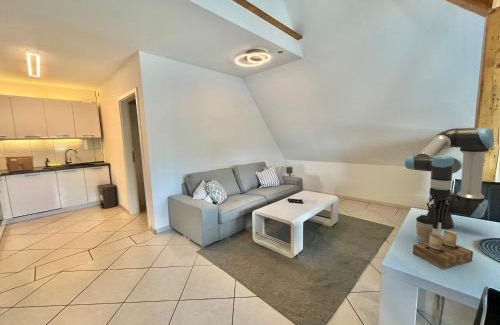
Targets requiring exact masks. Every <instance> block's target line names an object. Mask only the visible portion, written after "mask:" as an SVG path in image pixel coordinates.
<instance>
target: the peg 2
mask: <svg viewBox="0 0 500 325" xmlns="http://www.w3.org/2000/svg"><path fill="white" fill-rule="evenodd" d="M457 237H458V233H457V232H456V231H453V230H450V229H444V230H443V247H446V248H448V249H450V250H455V249H456V245H457Z"/></svg>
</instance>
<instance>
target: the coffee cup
mask: <svg viewBox="0 0 500 325" xmlns="http://www.w3.org/2000/svg"><path fill="white" fill-rule="evenodd" d="M426 215H427V214H420V215H419V216H417V217H416V219H415V221H416V225H415V227H416V228H415V229H416V241H417V242H418V243H423V242H427V241H429V238H430V233H432V228H433V222H432V221H430V220H429V216H426Z"/></svg>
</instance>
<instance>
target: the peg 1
mask: <svg viewBox="0 0 500 325" xmlns="http://www.w3.org/2000/svg"><path fill="white" fill-rule="evenodd" d="M443 237H444V235H442V234H440V236H437V235H434V234H432V233H430V238H429V250H430V251H432V252H434V253H436V254H439V253H441V250H442V239H443Z"/></svg>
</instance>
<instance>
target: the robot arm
mask: <svg viewBox="0 0 500 325" xmlns="http://www.w3.org/2000/svg"><path fill="white" fill-rule="evenodd" d="M494 142H495V137H494V132H493V130H492V129H491V128H490V127H481V126H480V127H464V128H463V127H462V128H460V127H459V128H451V129H450V128H449V129H446V130H444V131H441V132H439V133H437V134H436V135H434V136H433V137H432V138H431V140H430V142H429V143H428V144H427V145H426V146H425V147H424V148H423V149H422V150H420V151H419V152H418V153H417V154H416V155H415V156H414V155H409V156H406V158H405V160H404V165H405V168H406V169H408V170H413V171H421V172H430V184H429V185H430V186H429V193H428V194H429V197H428V202H427V203H426V206H427V210H428V211H427V213H426V214H425V215H426V216H429V220H430V221H432V222H433V228H432V234H434V235H437V236H440V235H442V234H441V232H442V230H453V229H455V223H454V219H453V216H452V213H453V214H457V215H461V216H464V217H465V216H466V217H470V218H476V219H481V218H482V217H484V215H485V213H486V211H487V208H488V205H489V200H487V199H485V195H483V194H482V185H483V184H482V183H483V174H484V173H483V172H484V163H485V162H484V161H485V154H487V153H489V151H490V150H491V149H492V148H493V147H494V145H495V144H494ZM448 148H459V152H460V153H462V161H461V160H460V159H458V158H456V157H453V156H450V155H439V154H441V153H442V152H443V151H444V150H446V149H448ZM459 171H461V181H460V191H458V192H457V193H456V194H454V192H453V191H452V190H451V189H452V182H453V181H452V180H453V174H455V173H458V172H459Z"/></svg>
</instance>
